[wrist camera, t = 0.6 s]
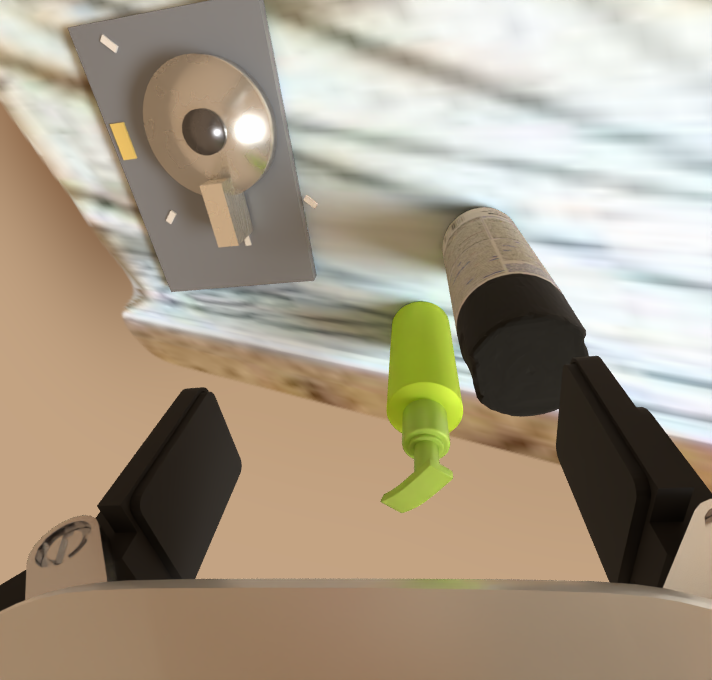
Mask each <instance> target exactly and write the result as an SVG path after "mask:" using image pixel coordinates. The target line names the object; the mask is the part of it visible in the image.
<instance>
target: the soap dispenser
mask: <svg viewBox="0 0 712 680" xmlns="http://www.w3.org/2000/svg"><path fill="white" fill-rule="evenodd" d="M462 415H463V405H462V399H461V393H460V387H459V381H458V374H457V368H456V362H455V356H454V350H453V344H452V338H451V331H450V325H449V320H448V317H447V315H446V314H445V312H444V311H443V310H442V309H441V308H439V307H438V306H436V305H434V304H432V303H428V302H414V303H410V304H408V305H406V306H404V307H402V308H401V309H400V310H399V311H398V312H397V313H396V315H395V316H394V318H393V321H392V331H391V347H390V363H389V379H388V395H387V416H388V419H389V421H390V423H391V424H392V425H393V427H394V428H395V429H397V430H398V431H399V432H401V433H402V445H403V449H404V451H405V452H406V454H407V455H408V456H410V457H411V458H413V459H414V473H412V474H411V475H410V476H409V477H408V478H407V479H406V480H404V481H403V482H402V483H401V484H400V485H398V486H397V487H396V488H394V489H393V490H391V491H389V492H388V493H386V494H384V495H383V497H382V499H381V502H382V503H384V504H386V505H387V506H389V507H391V508H393V509H395V510H397V511H399V512H400V513H404V512H407V511H409V510H412V509H414V508H416V507H418V506H419V505H421V504H422V503H424V502H425V501H427V500H428V499H429V498H431V497H432V496H433V495H434V494H436V493H437V492H438V491H439V490H440V489H441V488H443V487H444V486H445V485H446V484H447V483H448V482H449V481H451V480H452V479H453V473H452V471H451V470H449V469H448V468H446V467H444V466H442V465H441V464H440V462H439V459H440V458H442V457H443V456H445V454H447V452H448V450H449V448H450V438H449V432H451V431H452V430H453V429H455V428H456V427H457V425H458V424H459V423H460V421H461V419H462Z"/></svg>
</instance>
